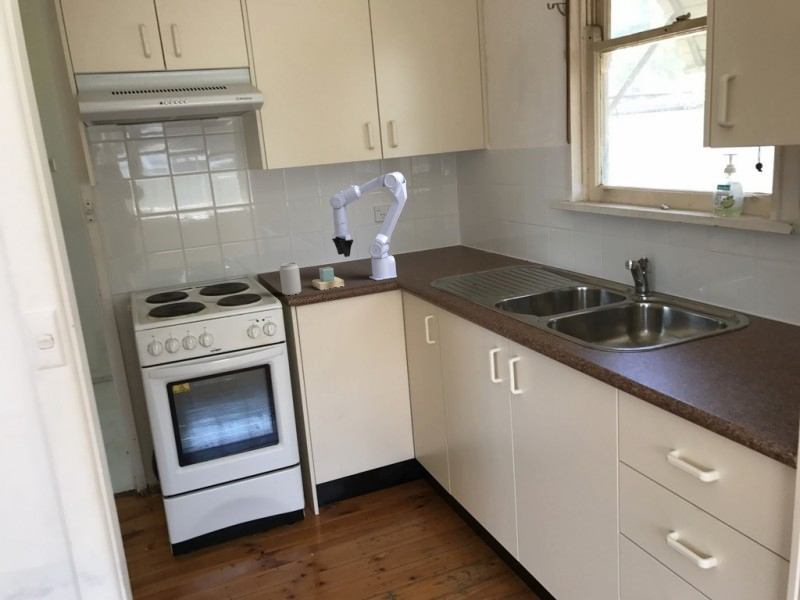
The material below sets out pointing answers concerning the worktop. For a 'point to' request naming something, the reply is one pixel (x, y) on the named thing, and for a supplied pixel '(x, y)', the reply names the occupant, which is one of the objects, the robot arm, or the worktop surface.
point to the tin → (326, 274)
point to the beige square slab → (328, 283)
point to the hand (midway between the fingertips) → (344, 255)
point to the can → (290, 279)
